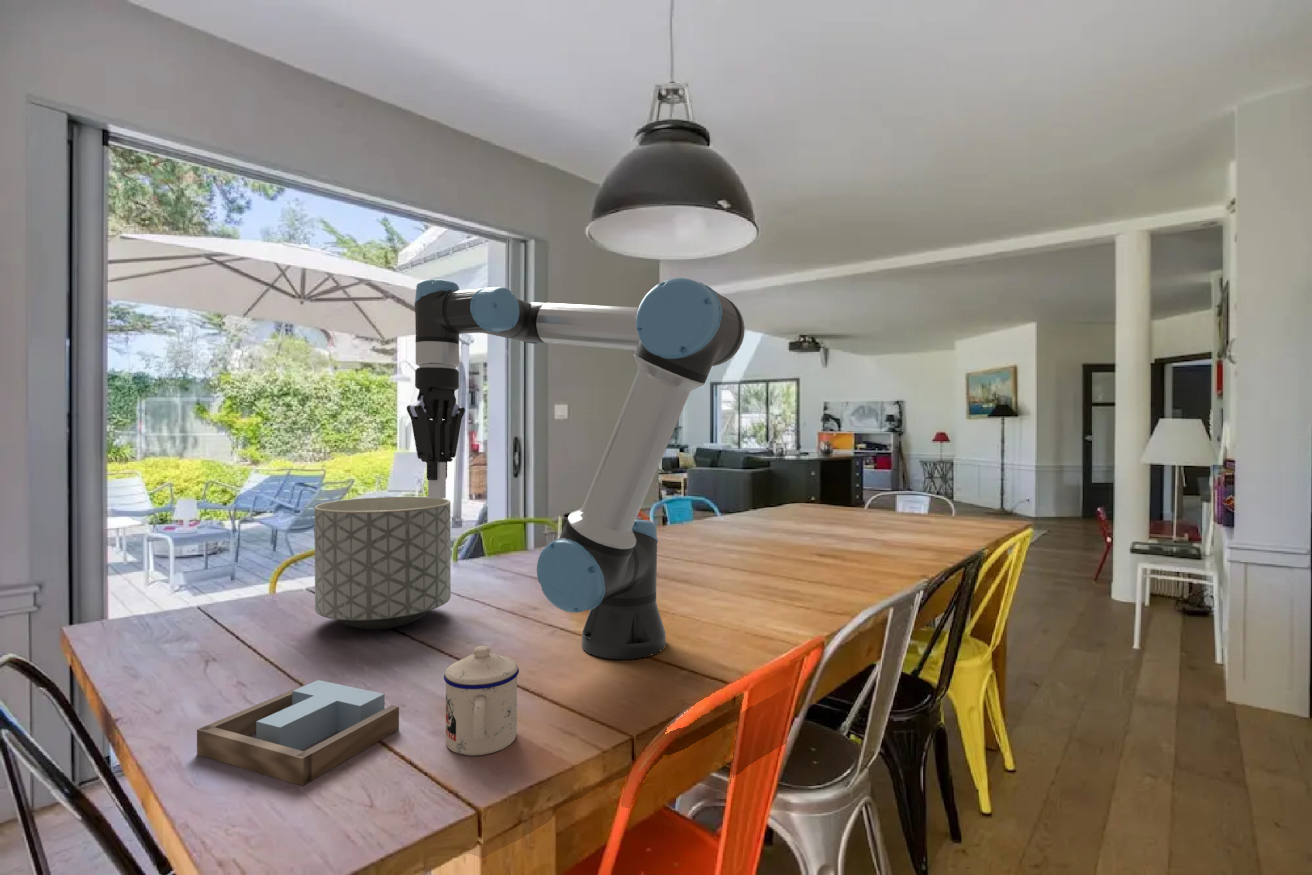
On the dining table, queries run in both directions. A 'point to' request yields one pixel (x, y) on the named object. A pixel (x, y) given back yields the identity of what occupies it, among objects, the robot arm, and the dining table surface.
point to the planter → (382, 560)
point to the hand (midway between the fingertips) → (436, 497)
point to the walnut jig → (286, 763)
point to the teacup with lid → (481, 703)
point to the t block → (318, 714)
